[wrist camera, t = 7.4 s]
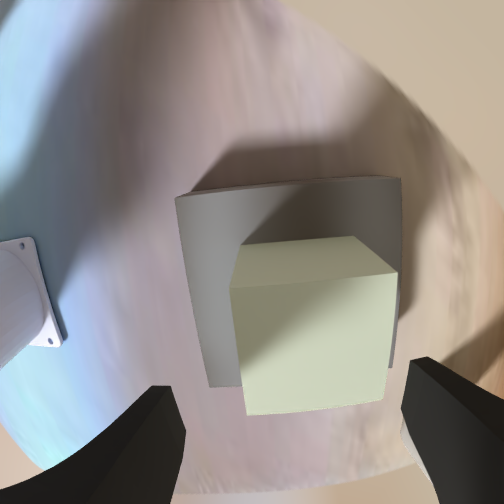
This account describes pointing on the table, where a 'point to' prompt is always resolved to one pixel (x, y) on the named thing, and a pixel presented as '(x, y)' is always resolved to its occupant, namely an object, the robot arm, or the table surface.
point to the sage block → (312, 324)
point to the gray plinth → (275, 230)
